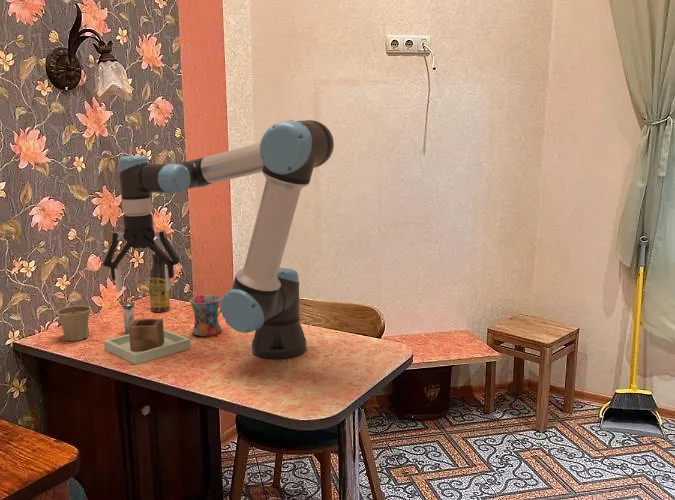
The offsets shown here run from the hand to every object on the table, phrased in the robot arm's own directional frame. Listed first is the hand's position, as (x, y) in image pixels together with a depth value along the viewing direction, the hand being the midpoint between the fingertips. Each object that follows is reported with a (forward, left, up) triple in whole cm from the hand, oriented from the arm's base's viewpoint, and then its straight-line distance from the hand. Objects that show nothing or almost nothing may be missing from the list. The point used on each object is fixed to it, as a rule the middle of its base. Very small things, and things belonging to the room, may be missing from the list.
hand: (144, 290), depth 183 cm
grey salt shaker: (+16, -3, -17) cm, 24 cm away
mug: (-1, -20, -17) cm, 27 cm away
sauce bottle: (+30, -22, -17) cm, 41 cm away
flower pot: (+24, +10, -17) cm, 31 cm away
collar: (0, 0, -16) cm, 16 cm away
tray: (0, 0, -17) cm, 17 cm away
